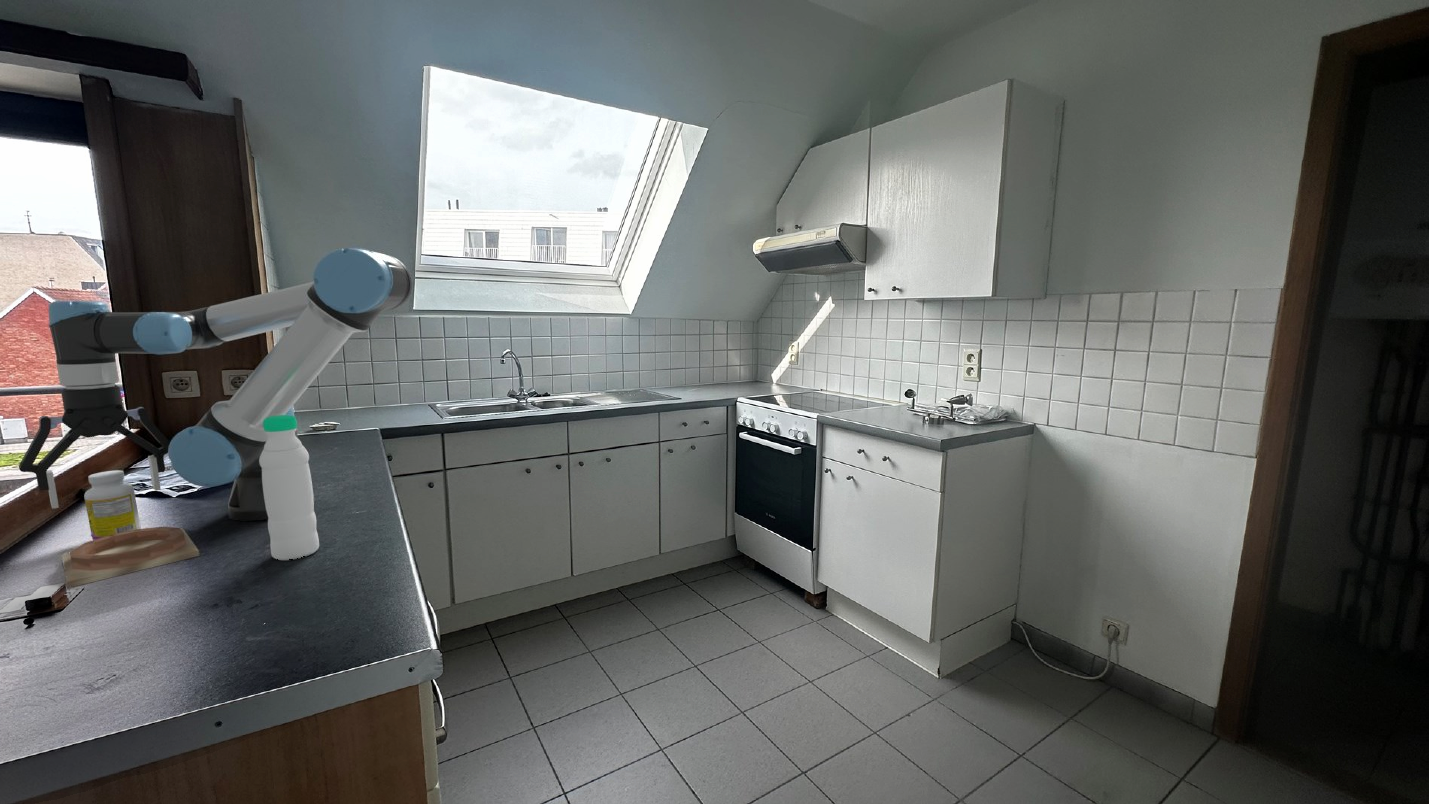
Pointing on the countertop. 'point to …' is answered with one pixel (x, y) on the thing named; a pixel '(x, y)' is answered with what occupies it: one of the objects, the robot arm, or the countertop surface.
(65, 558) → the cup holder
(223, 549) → the countertop surface
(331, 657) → the countertop surface
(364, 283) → the robot arm
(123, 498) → the supplement bottle
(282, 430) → the water bottle
